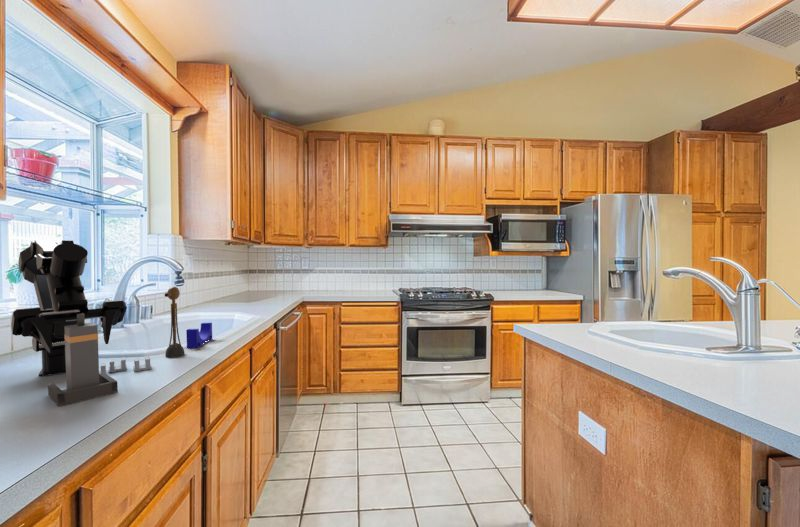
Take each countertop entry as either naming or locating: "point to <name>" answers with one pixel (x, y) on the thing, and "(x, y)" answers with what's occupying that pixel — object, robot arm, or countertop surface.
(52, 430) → the countertop surface
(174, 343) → the wooden tabletop sculpture
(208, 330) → the cable clip
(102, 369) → the clips
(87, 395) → the dark grey square tray
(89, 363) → the connector
